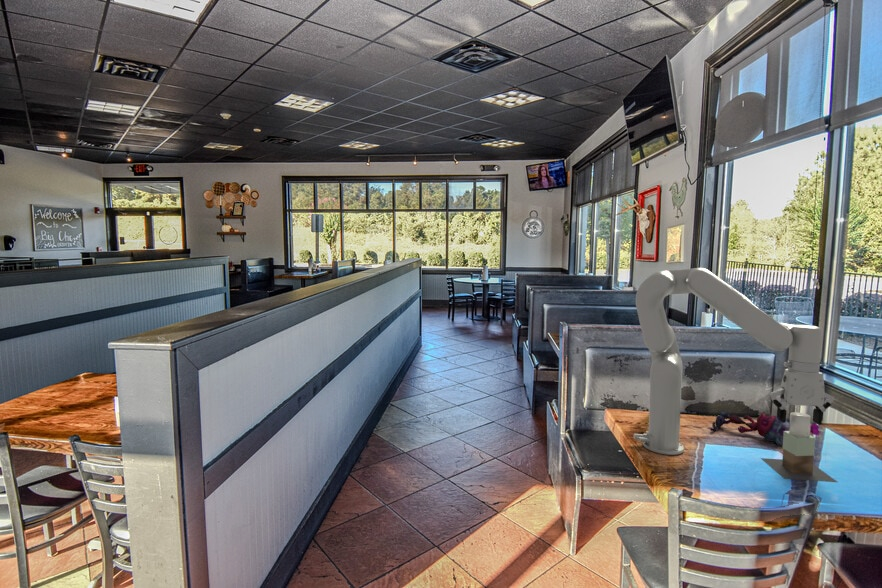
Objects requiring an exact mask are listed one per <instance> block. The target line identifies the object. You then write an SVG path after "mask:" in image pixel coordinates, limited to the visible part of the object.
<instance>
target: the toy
mask: <svg viewBox="0 0 882 588" xmlns="http://www.w3.org/2000/svg"><path fill="white" fill-rule="evenodd" d="M742 418H743V419H742ZM742 418H741V417H740V416H738V415H736V414H733V415H730V412H728V411H727V412H725V411H722V412H720V414H718V415H717V416H716V418H715V421H712V425H711V426H712V427H711V428H710V429H709V430H710V431H711V432H716V431H717V430H720V429H721V427H723V425H728V424H730V423H731V424H734V425H739V426H738V427H737V429H738V432H739V433H740V434H744V433H749V432H757V434H758V435H759V436H760V437H762V438H764V439H765V440H766V441H767V440H768V441H769V442H770V441H771V442H775V444H777V445H778V447H782V448H783V434H784V431H789V427H790V418H786V422H785V423H782V422H781V421H779V420H778V418H777V415H771V414H768V413H765V412H763V413H761V414H760V415H759V416H757V419H756V421H755V420H754V419H753V418H752V416H750V415H747V414H746V415H743V416H742ZM744 420H747V421H749V422H745V421H744ZM743 425H745V426H746V427H745V426H743ZM810 434H812V435H814V436H818V435H820V430H819V425H818V424H817V423H812V424H811V426H810Z"/></svg>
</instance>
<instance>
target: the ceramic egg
mask: <svg viewBox="0 0 882 588" xmlns="http://www.w3.org/2000/svg"><path fill="white" fill-rule="evenodd" d="M789 419H790V427H789V433H790V434H791V435H794V436H797V437H803V438H808V437H810V435H811V432H810V426H811V425H812V424H811V423H812V416H811V415H810V414H808V413H804V412H803V413H802V412H799V411H798V412H797V411H796V412H790V414H789Z"/></svg>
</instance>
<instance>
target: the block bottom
mask: <svg viewBox="0 0 882 588" xmlns="http://www.w3.org/2000/svg"><path fill="white" fill-rule="evenodd" d="M782 459H783V461H782V465H783V466H784V467H785V468H787V469H788V470H789V471H790V472H792V473H801V474H813V464H814V459H815V455H814V456H795V455H793V454H792V453H790V452H788V451H786V450H785V449H783V448H782Z"/></svg>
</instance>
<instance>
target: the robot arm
mask: <svg viewBox="0 0 882 588" xmlns="http://www.w3.org/2000/svg"><path fill="white" fill-rule="evenodd" d="M682 294H683V295H686V294H693V295H694V296H696V297H697V298H698V299H700V300H701V301H703V302H704V303H706V304H707V305H709V306H710V307H711V308H712V309H714V310H715V311H716V312H717V313H719V314H720V315H722V316H723V317H724V318H726V319H727V320H729V321H730V322H732V323H733V324H735V325H736V326H738V327H739V328H740V329H742V330H743V331H744V332H746V333H747V334H748V335H750V336H751V337H752V338H753V339H755V340H756V341H757V342H759V343H760V344H762V345H763V346H765V347H766V348H767V349H769V350H772V351H776V352H780V351H785V350H787V349H788V359H787V361H784V362H783V367H786V368H785V370H784V373H783V376H782V378H781V384H780V388H778V389H775V390H773V391H771V392H769V393H768V397H769V398H770V401H771V402H772V403H773V404H774V405H775V406H776V407H777V410H776V416H777V418H778V420H779V421H781V422H782V423H785V422H786V419H787V410H786V408H787V407H788V406H790V405H792V406H801V407H802V406H803V407H805V406H806V407H807V406H808V407H814V408H813V412H812V422H814V424H817V425H818V426H821V425H822V423H823V422H822V421H824V412H826V411H827V409H828V408H830V407H831V405H832V403H833V402H834V400H835V397H834V396H832V395H830V393H829V394H828V393H827V392H825V381H824V380H825V379H824V375H823V372H820V367H821V366H820V365H821V355H822V352H821V351H822V343H823V342H822V341H823V329H822V328H821V327H820V326H816V325H811V324H790V323H785V322H779V321H777V320H776V319H774V318H773V317H771V316H770V315H768V314H767V313H766V312H765V311H763V310H762V309H760V308H759V307H758V306H757V305H755V304H754V303H753V302H752V301H751V299H749V298H748V297H747V296H745V295H744V294H743V293H742V292H740V291H738V290H737V289H735V288H734V287H733V286H732V285H730V284H729V283H727V282H725V281H724V280H723V279H722V278H720V277H719V276H717V275H716V274H714V273H713V272H712V271H710V270H709V269H707V268H704V267H694V268H684V269H668V270H667V269H665V270H659V271H655V272H654V273H652V274H651V275H649V276H648V277H647V278H646V279H645V280H644V281H642V282H641V284H640V285H639V287H638V289H637V290H636V295H635V307H636V312H637V316H638V317H637V318H638V321H639V325H640V330H641V333H642V339H643V344H644V345H645V346H646V348H647V349H648V351H649V355H650V358H651V366H650V369H649V408H648V409H649V410H648V412H649V413H648V430H645V433H644V432H643V434H641V433H633V439H634V440H639V441H638V442H640V443H642V444H643V447H644V448H645V449H647V450H648V451H651V452H653V453H656V454H660V455H667V456H674V455H675V456H676V455H681V454H682V453H684V452H685V447H684V445H683V444H682V443H680V432H681V431H680V428H681V427H680V426H681V408H682V407H681V405H682V400H681V399H682V383H683V381H682V380H683V360H682V356H681V352H680V347H679V345H678V342H677V337H676V333H675V331H674V329H673V328H672V326H671V325H670V324H669V322H668V318H667V314H666V310H665V308H664V299H665V298H666V297H667V296H669V295H682ZM778 396H779V397H780V399H779V400H778Z"/></svg>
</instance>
